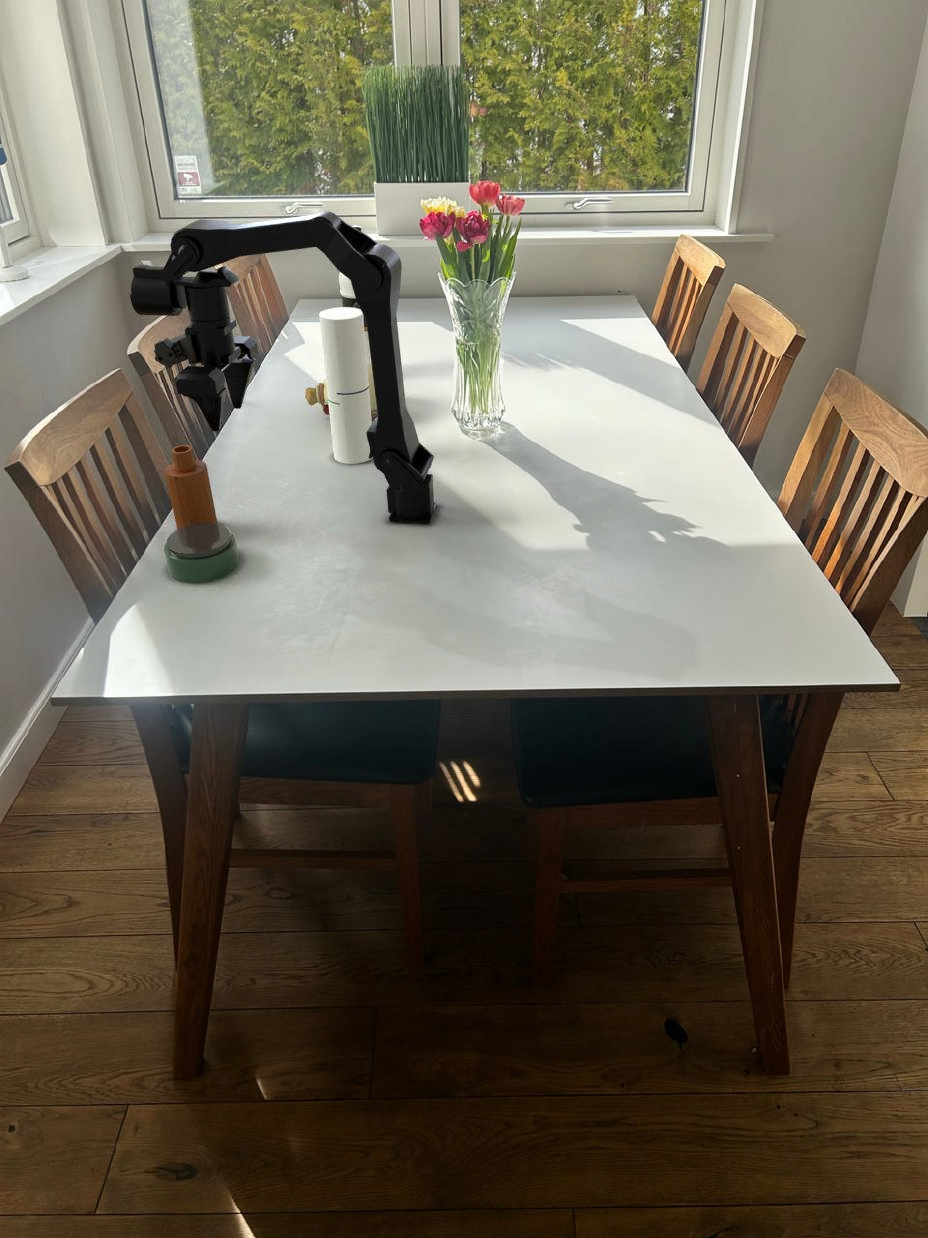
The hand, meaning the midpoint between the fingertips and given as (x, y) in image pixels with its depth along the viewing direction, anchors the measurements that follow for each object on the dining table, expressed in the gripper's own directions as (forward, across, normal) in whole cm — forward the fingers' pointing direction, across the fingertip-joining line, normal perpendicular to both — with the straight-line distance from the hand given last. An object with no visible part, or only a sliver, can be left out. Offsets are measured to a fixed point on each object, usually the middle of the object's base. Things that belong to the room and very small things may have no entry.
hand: (227, 419), depth 145 cm
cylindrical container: (+15, -21, +13) cm, 29 cm away
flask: (+15, -40, +8) cm, 43 cm away
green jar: (+15, +19, +1) cm, 24 cm away
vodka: (+15, -63, +5) cm, 65 cm away
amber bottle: (+15, +9, -4) cm, 18 cm away
